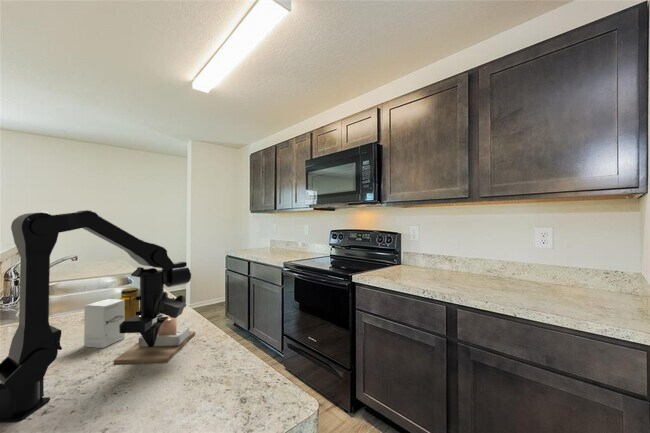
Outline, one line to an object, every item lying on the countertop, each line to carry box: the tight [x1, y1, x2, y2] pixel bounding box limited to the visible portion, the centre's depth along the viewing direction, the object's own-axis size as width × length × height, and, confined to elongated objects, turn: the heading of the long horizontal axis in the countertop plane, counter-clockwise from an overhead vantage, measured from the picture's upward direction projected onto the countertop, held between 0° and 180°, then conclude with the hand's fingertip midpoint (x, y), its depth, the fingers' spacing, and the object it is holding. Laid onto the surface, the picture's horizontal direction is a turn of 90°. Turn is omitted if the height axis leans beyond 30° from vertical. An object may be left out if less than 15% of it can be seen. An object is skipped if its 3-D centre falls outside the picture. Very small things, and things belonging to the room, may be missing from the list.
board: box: [113, 330, 196, 365], centre depth 84 cm, size 18×14×1 cm
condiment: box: [119, 287, 140, 320], centre depth 108 cm, size 7×8×12 cm
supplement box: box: [83, 298, 126, 349], centre depth 88 cm, size 7×7×13 cm
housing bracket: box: [138, 327, 190, 347], centre depth 85 cm, size 7×11×2 cm, turn 93°
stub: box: [158, 315, 178, 336], centre depth 88 cm, size 5×5×6 cm
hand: (151, 346), depth 78 cm, fingers closed
